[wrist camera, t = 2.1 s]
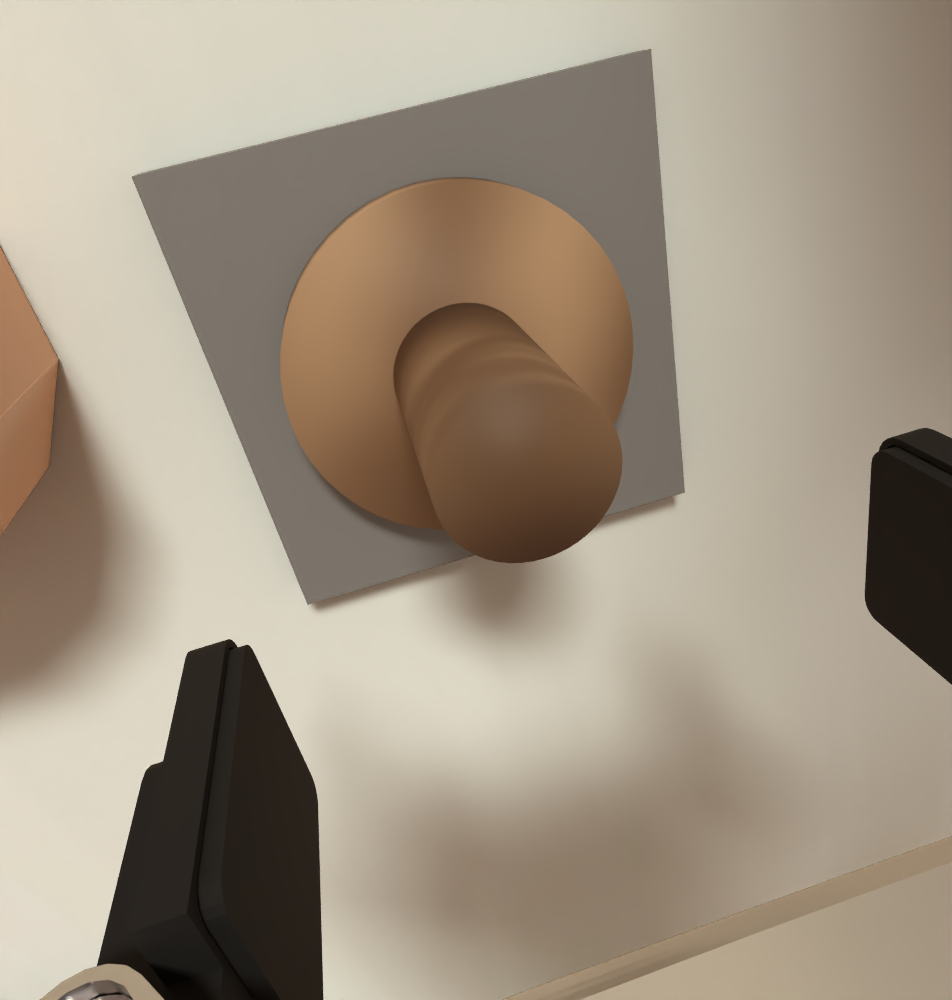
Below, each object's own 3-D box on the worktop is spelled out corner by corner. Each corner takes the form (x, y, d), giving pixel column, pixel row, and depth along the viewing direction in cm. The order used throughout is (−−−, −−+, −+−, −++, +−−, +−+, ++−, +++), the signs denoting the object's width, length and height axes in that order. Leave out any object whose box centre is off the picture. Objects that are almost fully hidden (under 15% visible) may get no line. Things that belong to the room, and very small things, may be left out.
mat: (636, 51, 18) (650, 48, 17) (673, 480, 24) (684, 492, 23) (138, 174, 17) (131, 177, 16) (307, 589, 23) (307, 604, 22)
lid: (596, 134, 18) (753, 151, 12) (634, 462, 22) (761, 598, 16) (225, 231, 17) (184, 302, 11) (342, 549, 21) (359, 724, 15)
